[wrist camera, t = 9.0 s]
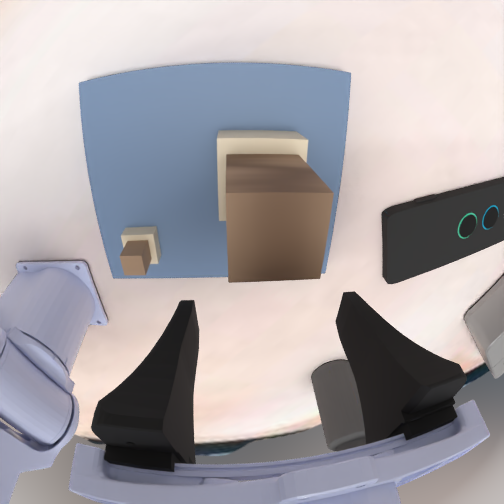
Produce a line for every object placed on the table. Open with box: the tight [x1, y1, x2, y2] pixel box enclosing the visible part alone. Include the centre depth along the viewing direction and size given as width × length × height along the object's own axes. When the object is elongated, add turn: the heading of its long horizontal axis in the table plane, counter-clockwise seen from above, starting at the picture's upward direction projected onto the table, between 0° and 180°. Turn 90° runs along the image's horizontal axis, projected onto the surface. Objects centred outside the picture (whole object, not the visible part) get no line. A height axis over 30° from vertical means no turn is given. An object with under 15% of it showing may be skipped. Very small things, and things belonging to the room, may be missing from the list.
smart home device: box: [382, 177, 504, 284], centre depth 24 cm, size 8×2×20 cm
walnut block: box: [226, 154, 334, 283], centre depth 14 cm, size 4×4×6 cm
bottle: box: [311, 360, 366, 451], centre depth 29 cm, size 6×6×15 cm
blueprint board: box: [79, 63, 351, 278], centre depth 18 cm, size 18×16×5 cm
